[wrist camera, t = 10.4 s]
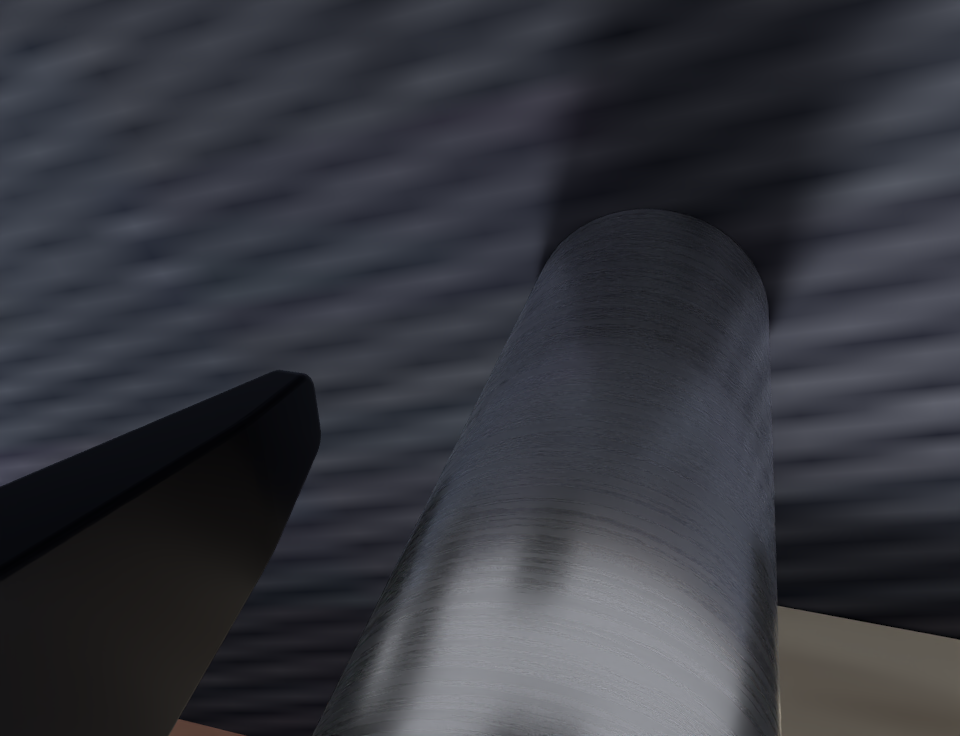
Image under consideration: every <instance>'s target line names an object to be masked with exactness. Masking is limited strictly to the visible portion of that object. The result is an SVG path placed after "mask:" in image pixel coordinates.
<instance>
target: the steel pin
mask: <svg viewBox="0 0 960 736" xmlns="http://www.w3.org/2000/svg"><path fill="white" fill-rule="evenodd" d="M312 736H781V704H780V671H779V638H778V604H777V571H776V538H775V504H774V471H773V438H772V404H771V371H770V338H769V309H768V300H767V296H766V291H765V288H764V285H763V282H762V280H761V277H760V275H759V273H758V271H757V269H756V268H755V266H754V264H753V262H752V261H751V260H750V259H749V257H748V256H747V255H746V253H745V252H744V251H743V250H742V249H741V248H740V247H739V246H738V245H737V244H736V243H735V242H734V241H733V240H732V239H731V238H730V237H728V236H727V235H726V234H724V233H723V232H722V231H720V230H719V229H717V228H715V227H713V226H712V225H710V224H708V223H706V222H704V221H702V220H699V219H697V218H695V217H692V216H689V215H686V214H682V213H678V212H675V211H668V210H661V209H634V210H625V211H621V212H616V213H612V214H608V215H606V216H603V217H600V218H598V219H595V220H593V221H591V222H589V223H587V224H585V225H584V226H582V227H580V228H579V229H577V230H576V231H575V232H573V233H572V234H570V235H569V236H568V237H567V238H566V239H565V240H564V241H563V242H562V243H561V244H560V245H559V246H558V247H557V248H556V249H555V251H554V252H553V253H552V254H551V256H550V257H549V259H548V261H547V262H546V264H545V266H544V267H543V269H542V271H541V273H540V275H539V277H538V280H537V282H536V284H535V286H534V288H533V290H532V292H531V294H530V296H529V298H528V300H527V302H526V304H525V306H524V308H523V310H522V312H521V314H520V316H519V318H518V320H517V322H516V324H515V326H514V328H513V330H512V332H511V334H510V336H509V338H508V340H507V342H506V344H505V346H504V348H503V350H502V352H501V354H500V356H499V358H498V360H497V362H496V364H495V366H494V369H493V371H492V373H491V375H490V377H489V379H488V381H487V383H486V385H485V387H484V389H483V391H482V393H481V395H480V397H479V399H478V401H477V403H476V405H475V407H474V409H473V411H472V413H471V415H470V417H469V419H468V421H467V423H466V425H465V427H464V429H463V431H462V433H461V435H460V437H459V439H458V441H457V443H456V445H455V447H454V449H453V451H452V453H451V455H450V457H449V460H448V462H447V464H446V466H445V468H444V470H443V472H442V474H441V476H440V478H439V480H438V482H437V484H436V486H435V488H434V490H433V492H432V494H431V496H430V498H429V500H428V502H427V504H426V506H425V508H424V510H423V512H422V514H421V516H420V518H419V520H418V522H417V524H416V526H415V528H414V530H413V532H412V534H411V536H410V538H409V540H408V542H407V544H406V546H405V548H404V551H403V553H402V555H401V557H400V559H399V561H398V563H397V565H396V567H395V569H394V571H393V573H392V575H391V577H390V579H389V581H388V583H387V585H386V587H385V589H384V591H383V593H382V595H381V597H380V599H379V601H378V603H377V605H376V607H375V609H374V611H373V613H372V615H371V617H370V619H369V621H368V623H367V625H366V627H365V629H364V631H363V633H362V635H361V637H360V640H359V642H358V644H357V646H356V648H355V650H354V652H353V654H352V656H351V658H350V660H349V662H348V664H347V666H346V668H345V670H344V672H343V674H342V676H341V678H340V680H339V682H338V684H337V686H336V688H335V690H334V692H333V694H332V696H331V698H330V700H329V702H328V704H327V706H326V708H325V710H324V712H323V714H322V716H321V718H320V720H319V722H318V724H317V726H316V728H315V731H314V733H313V735H312Z"/></svg>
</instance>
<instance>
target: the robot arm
mask: <svg viewBox="0 0 960 736" xmlns="http://www.w3.org/2000/svg"><path fill="white" fill-rule="evenodd" d="M320 439H321V429H320V422H319V415H318V408H317V401H316V395H315V388H314V384H313V381H312V379H311V378H310V377H309V376H308V375H307V374H304V373H297V372H290V371H283V370H276V371H273V372H270V373H268V374H265V375H263V376H261V377H258V378H256V379H254V380H251V381H249V382H247V383H244V384H242V385H239V386H237V387H235V388H232V389H230V390H228V391H225V392H223V393H221V394H218V395H216V396H214V397H211V398H209V399H206V400H204V401H202V402H199V403H197V404H195V405H192V406H190V407H188V408H185V409H183V410H180V411H178V412H176V413H173V414H171V415H169V416H166V417H164V418H162V419H159V420H157V421H154V422H152V423H150V424H147V425H145V426H143V427H140V428H138V429H136V430H133V431H131V432H128V433H126V434H124V435H121V436H119V437H117V438H114V439H112V440H110V441H107V442H105V443H102V444H100V445H98V446H95V447H93V448H91V449H88V450H86V451H84V452H81V453H79V454H76V455H74V456H72V457H69V458H67V459H65V460H62V461H60V462H58V463H55V464H53V465H50V466H48V467H46V468H43V469H41V470H39V471H36V472H34V473H32V474H29V475H27V476H25V477H22V478H20V479H17V480H15V481H13V482H10V483H8V484H6V485H3V486H1V487H0V736H169V734H170V733H171V731H172V729H173V727H174V726H175V724H176V722H177V721H178V719H179V717H180V715H181V714H182V712H183V710H184V708H185V707H186V705H187V703H188V701H189V700H190V698H191V696H192V694H193V693H194V691H195V689H196V688H197V686H198V684H199V682H200V681H201V679H202V677H203V675H204V674H205V672H206V670H207V668H208V667H209V665H210V663H211V661H212V660H213V658H214V656H215V655H216V653H217V651H218V649H219V648H220V646H221V644H222V642H223V641H224V639H225V637H226V635H227V634H228V632H229V630H230V628H231V627H232V625H233V623H234V621H235V620H236V618H237V616H238V615H239V613H240V611H241V609H242V608H243V606H244V604H245V602H246V601H247V599H248V597H249V595H250V594H251V592H252V590H253V588H254V587H255V585H256V583H257V582H258V580H259V578H260V576H261V575H262V573H263V571H264V569H265V567H266V566H267V564H268V562H269V560H270V558H271V556H272V554H273V552H274V550H275V548H276V546H277V544H278V542H279V540H280V537H281V535H282V533H283V530H284V528H285V526H286V524H287V521H288V519H289V517H290V514H291V512H292V510H293V507H294V505H295V503H296V500H297V498H298V496H299V493H300V491H301V489H302V486H303V484H304V482H305V480H306V477H307V475H308V473H309V470H310V468H311V466H312V463H313V461H314V459H315V456H316V454H317V452H318V449H319V445H320Z"/></svg>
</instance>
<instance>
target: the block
mask: <svg viewBox="0 0 960 736" xmlns="http://www.w3.org/2000/svg"><path fill="white" fill-rule="evenodd" d="M169 736H245V735H241V734H237V733H233V732H229V731H225V730H221V729H217V728H213V727H209V726H205V725H201V724H197V723H193V722H189V721H185V720H181V719H178V721H177V722H176V724H175V726H174V727H173V729H172V731H171V733H170V734H169Z"/></svg>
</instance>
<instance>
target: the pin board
mask: <svg viewBox="0 0 960 736" xmlns="http://www.w3.org/2000/svg"><path fill="white" fill-rule="evenodd" d="M778 638H779V671H780V704H781V736H960V640H958V639H953V638H948V637H942V636H937V635H932V634H926V633H921V632H915V631H910V630H905V629H899V628H894V627H889V626H883V625H878V624H873V623H867V622H862V621H856V620H851V619H846V618H840V617H835V616H830V615H824V614H819V613H814V612H808V611H803V610H797V609H792V608H787V607H781V606H778Z"/></svg>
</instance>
